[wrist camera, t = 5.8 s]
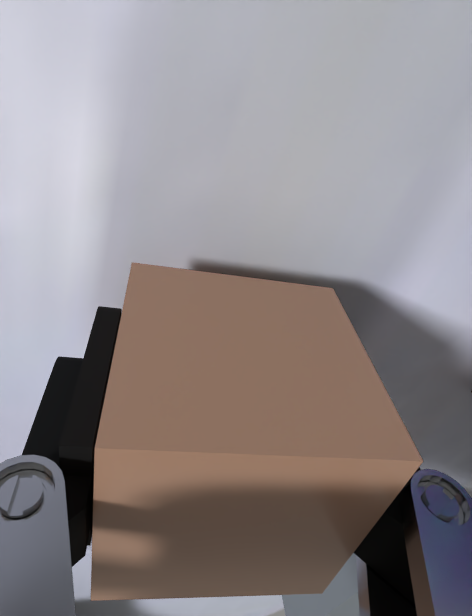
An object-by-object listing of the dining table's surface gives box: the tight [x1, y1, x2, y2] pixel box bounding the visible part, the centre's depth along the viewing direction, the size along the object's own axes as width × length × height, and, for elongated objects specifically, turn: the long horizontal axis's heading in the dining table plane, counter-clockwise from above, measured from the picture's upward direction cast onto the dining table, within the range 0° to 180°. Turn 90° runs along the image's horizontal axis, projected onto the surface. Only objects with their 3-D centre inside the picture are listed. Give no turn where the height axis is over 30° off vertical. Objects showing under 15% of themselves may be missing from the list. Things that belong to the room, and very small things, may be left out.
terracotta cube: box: [91, 263, 423, 601], centre depth 10 cm, size 5×5×5 cm
